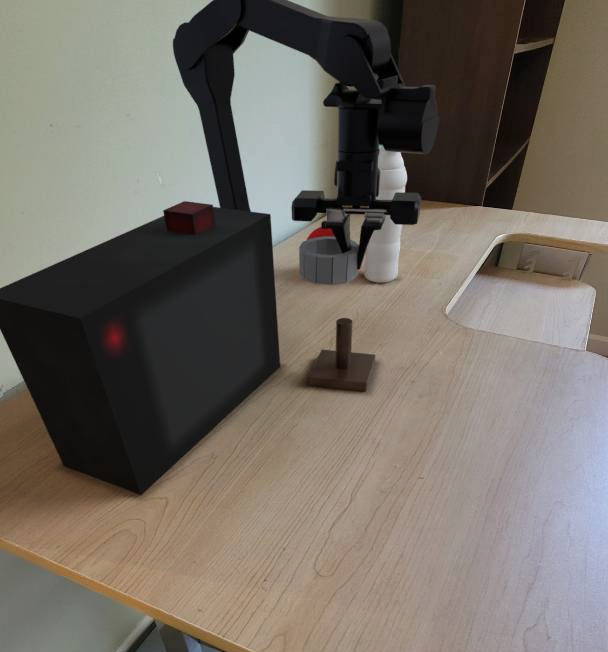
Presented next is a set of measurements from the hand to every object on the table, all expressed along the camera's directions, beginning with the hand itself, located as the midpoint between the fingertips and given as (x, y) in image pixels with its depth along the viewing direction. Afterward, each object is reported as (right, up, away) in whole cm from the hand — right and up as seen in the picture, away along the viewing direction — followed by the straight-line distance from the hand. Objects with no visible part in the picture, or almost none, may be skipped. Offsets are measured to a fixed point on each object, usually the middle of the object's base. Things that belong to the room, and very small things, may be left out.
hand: (354, 268), depth 83 cm
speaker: (-27, -24, -6) cm, 37 cm away
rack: (-2, -17, -1) cm, 17 cm away
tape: (-4, 0, +1) cm, 4 cm away
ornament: (-3, +14, +29) cm, 32 cm away
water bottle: (+8, +12, +26) cm, 30 cm away
